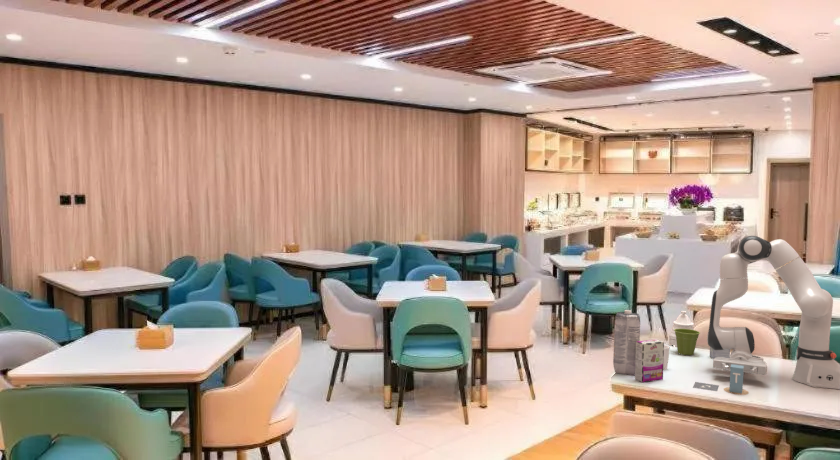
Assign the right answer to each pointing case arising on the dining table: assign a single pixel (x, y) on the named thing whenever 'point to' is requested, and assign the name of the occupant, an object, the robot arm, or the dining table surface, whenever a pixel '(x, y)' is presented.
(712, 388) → the tile
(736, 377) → the letter block
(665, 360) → the white cup
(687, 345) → the plant pot
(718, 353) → the medicine box
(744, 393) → the coaster
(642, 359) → the candy bar box
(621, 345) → the juice carton
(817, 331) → the robot arm
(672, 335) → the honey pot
